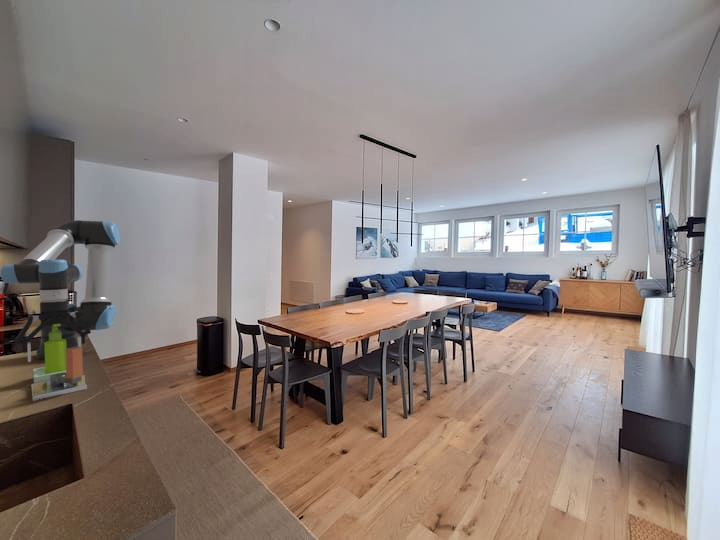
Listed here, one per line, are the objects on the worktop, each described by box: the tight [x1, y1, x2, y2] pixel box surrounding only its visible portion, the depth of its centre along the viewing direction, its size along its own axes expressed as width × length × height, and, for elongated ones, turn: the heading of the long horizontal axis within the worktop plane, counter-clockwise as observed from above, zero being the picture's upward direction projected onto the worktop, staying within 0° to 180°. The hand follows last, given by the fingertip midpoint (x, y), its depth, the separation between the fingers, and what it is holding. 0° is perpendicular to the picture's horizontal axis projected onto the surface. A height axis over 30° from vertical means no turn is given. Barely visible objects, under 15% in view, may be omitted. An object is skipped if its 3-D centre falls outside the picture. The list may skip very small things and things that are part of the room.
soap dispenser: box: [44, 324, 66, 374], centre depth 116 cm, size 6×7×20 cm
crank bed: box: [31, 374, 88, 402], centre depth 107 cm, size 14×13×4 cm
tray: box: [32, 366, 66, 384], centre depth 117 cm, size 12×12×4 cm
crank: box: [50, 346, 84, 386], centre depth 107 cm, size 11×4×13 cm, turn 78°
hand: (55, 356), depth 116 cm, fingers open, 13 cm apart
